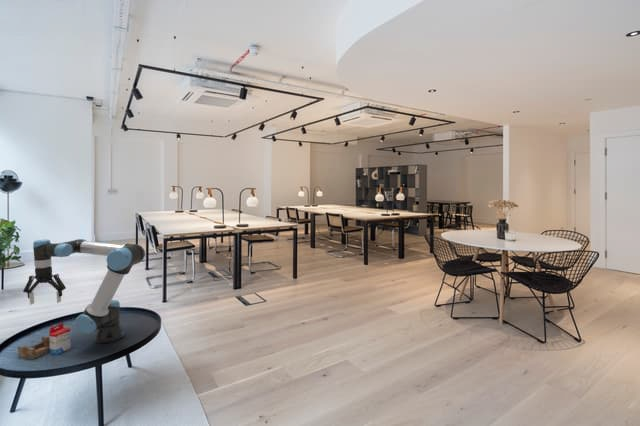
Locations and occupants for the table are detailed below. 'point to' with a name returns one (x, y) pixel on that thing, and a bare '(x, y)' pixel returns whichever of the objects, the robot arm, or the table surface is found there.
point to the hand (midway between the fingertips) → (45, 302)
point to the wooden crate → (35, 349)
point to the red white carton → (59, 339)
